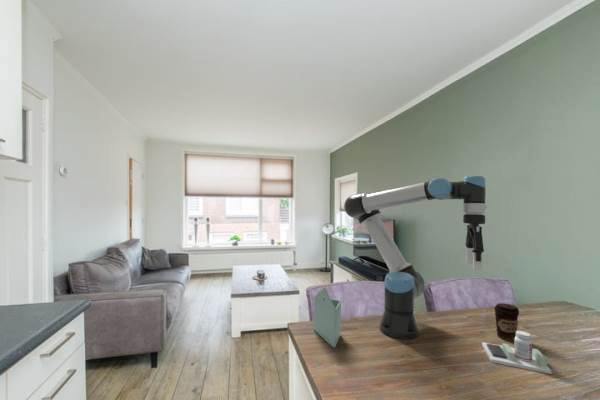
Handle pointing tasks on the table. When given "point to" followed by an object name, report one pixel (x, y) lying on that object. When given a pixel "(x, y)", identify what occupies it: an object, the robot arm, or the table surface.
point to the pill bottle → (523, 346)
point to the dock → (507, 357)
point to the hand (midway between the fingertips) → (473, 266)
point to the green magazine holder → (327, 317)
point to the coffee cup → (506, 321)
